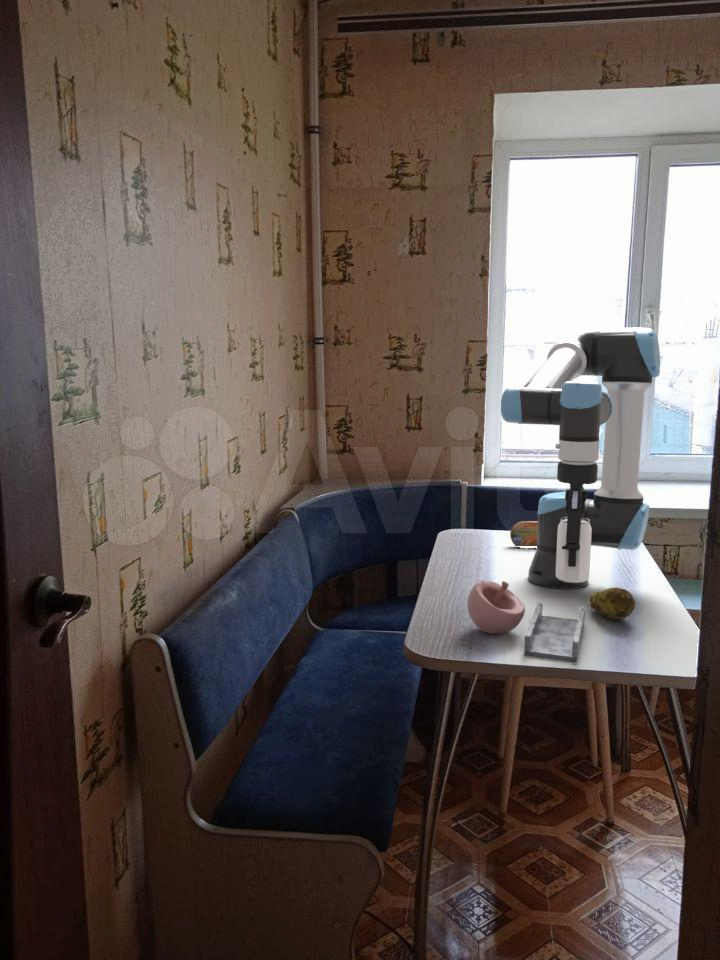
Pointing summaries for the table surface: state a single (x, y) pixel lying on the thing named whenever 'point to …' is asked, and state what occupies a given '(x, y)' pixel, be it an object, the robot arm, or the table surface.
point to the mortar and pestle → (494, 607)
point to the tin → (524, 533)
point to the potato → (613, 603)
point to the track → (554, 636)
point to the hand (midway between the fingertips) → (572, 576)
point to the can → (584, 549)
